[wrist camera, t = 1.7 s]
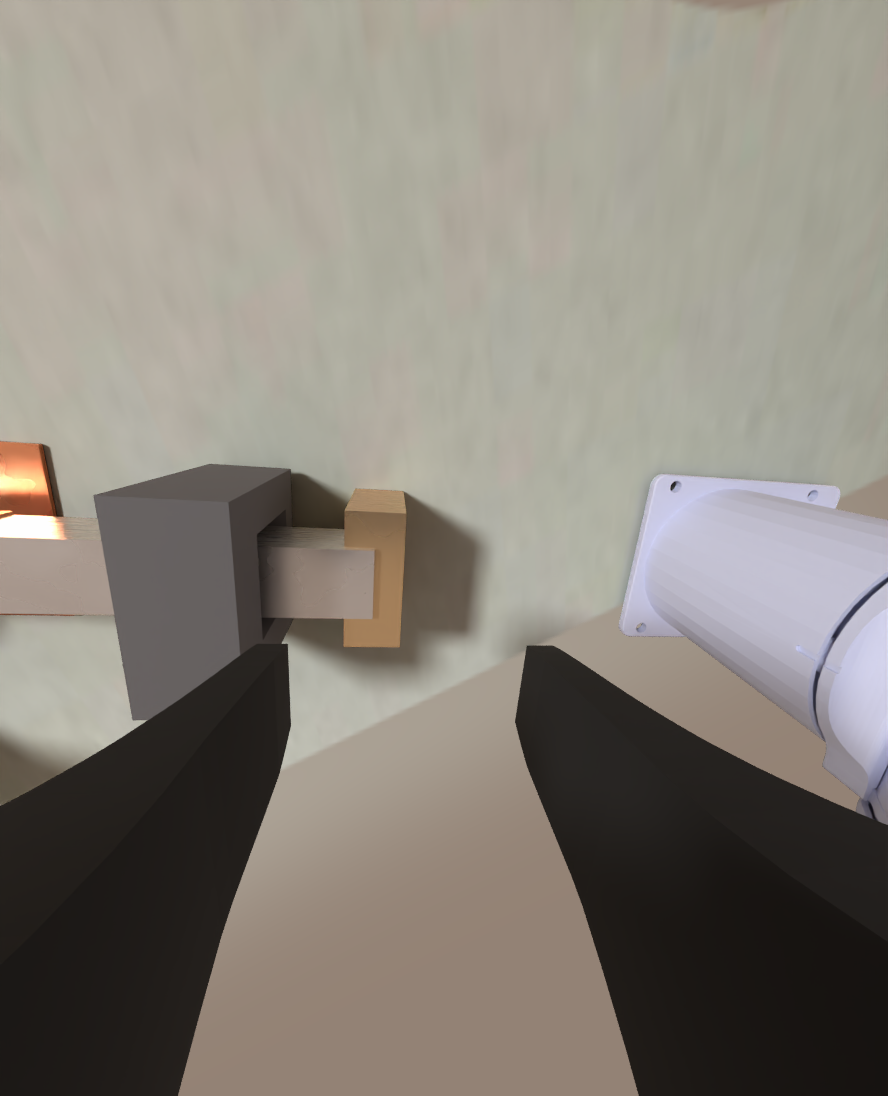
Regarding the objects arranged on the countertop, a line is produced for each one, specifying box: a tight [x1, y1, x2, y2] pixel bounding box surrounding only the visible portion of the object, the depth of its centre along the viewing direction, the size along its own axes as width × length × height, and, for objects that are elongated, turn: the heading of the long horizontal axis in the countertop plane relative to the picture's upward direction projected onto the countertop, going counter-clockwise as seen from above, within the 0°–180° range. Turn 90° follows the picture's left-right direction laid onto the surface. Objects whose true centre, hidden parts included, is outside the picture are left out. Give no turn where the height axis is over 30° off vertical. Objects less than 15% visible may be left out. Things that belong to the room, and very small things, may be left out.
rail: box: [0, 441, 407, 647], centre depth 15 cm, size 22×7×4 cm, turn 86°
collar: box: [94, 464, 293, 720], centre depth 14 cm, size 3×6×7 cm, turn 176°
